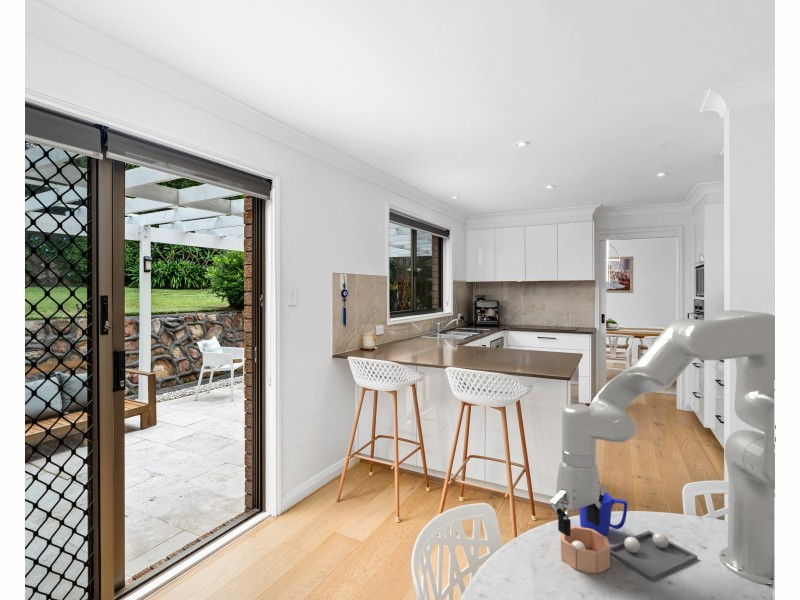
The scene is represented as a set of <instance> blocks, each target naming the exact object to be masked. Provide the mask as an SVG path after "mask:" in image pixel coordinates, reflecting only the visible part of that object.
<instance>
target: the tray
mask: <svg viewBox="0 0 800 600" xmlns="http://www.w3.org/2000/svg"><path fill="white" fill-rule="evenodd" d="M655 533H656V532H653V531H651V530H647V531H643V532H642V533H639V534H637V535H634V536H633V537H634V538H636V539H637V540H638V541H639V543H640V550H639V551H638V552H636V553H631V552H629V551H628V550H627V549H626V548H625V545H624V541H625V539H624V540H622V541H618V542H616V543H614V544H612V545H609V546H610V557H611V558H613V559H615V560H617V561H618V562H620V563H621V564H623V565H625V567H627V568H628V569H631V570H632V571H634V572H635V573H638V574H639V575H640V576H642V577H643V578H645V579H647V580H649V581H650V582H654V581H656V580H658V579H660V578H662V577H664V576H666V575H669V574H671V573H673V572H674V571H677V570H678V569H680V568H683V567H685V566H687V565H689V564H691V563H693V562H695V561H697V560H698V555H697V554H695V553H693V552H691V551H689V550H687V549H685V548H683V547H682V546H680V545H678V544H676V543H674V542H672V541H670V540H669V544H668V546H667V547H666V548H659V547H657V546H656V545H655V544H654V542H653V539H652V538H653V535H654V534H655Z"/></svg>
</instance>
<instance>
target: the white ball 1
mask: <svg viewBox="0 0 800 600" xmlns="http://www.w3.org/2000/svg"><path fill="white" fill-rule="evenodd" d="M571 545H573V546H575V547H576V548H578V549H584V550H586V548H585V545H584V544H583V543H582V542H580V541H573V542H572V543H571Z"/></svg>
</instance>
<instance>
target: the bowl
mask: <svg viewBox="0 0 800 600" xmlns="http://www.w3.org/2000/svg"><path fill="white" fill-rule="evenodd" d="M573 541H580V542H582V543H583V544H584V545H585V548H586V550H584V549H578V548H576V547H575V546H573V545H571V543H572V542H573ZM610 546H611V545H610V542H609V539H608V537H607V536H603V535H602V534H600V533H598V532H597V531H595V530H593V529H590V528H583V527H581V526H576V525H572V526H571V535H570V536H569V537H568V536H566V535H565V534H563V533H561V532H560V558H561V559H562V561H564V563H565V564H566V565H568V566H569V567H571V568H573V569H575V570H578V571H579V572H583V573H589V574H599V573H603V572H606V570H607V569H609V568H610V567H611V556H610Z"/></svg>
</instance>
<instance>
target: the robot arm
mask: <svg viewBox="0 0 800 600" xmlns="http://www.w3.org/2000/svg"><path fill="white" fill-rule="evenodd" d="M775 316H776V315H774V314H770V313H767V312H759V311H748V310H747V311H746V310H737V309H736V310H734V309H728V310H722V311H719V312H717V313H716V314H714V315H713V316H712V318H711V319H710V320H702V319H696V318H695V319H694V318H689V317H688V318H687V317H686V318H682V317H681V318H677V319H675V320H672V321H671V322H670V323H669V324H668V325H667V326H666V327H665V328H664V329H663V330H662V331H661V333H660V334H659V335H658V336H657V338H655V340H654V341H653V342H652V343H651V345H650V346H649V347H648V349H646V350H645V352H644V353H643V354H642V355H641V356H640V357H639V358H638V360H637V361H636V362H635V363H634V364H633V365H631V366H629V367H628V368H626V369H624V370H623V371H621V372H620V373H619V374H618V375H616V376H615V377H613V378H612V379H610V380H609V381H608V382H607V383H606V384H605V385H604V386H603V387H602V388H601V389H600V390H599V392H598V393H597V394H596V395H595V396H594V398H593V399H592V400H591V402H590V404H589V406H588V405H585V404H577V403H575V404H573V403H572V404H567V405H565V406H564V407H563V409H562V410H561V437H562V438H561V456H562V457H561V460H562V461H561V462H560V463H559V467H558V471H557V479H556V492H555V494H556V495H555V496H554V497H553V498H552V499H551V500H550V505H551V507H552V511H553V512H554V513H555V515H556V516H557V519H558V520H557V525H558V526H557V529H558V531H559V532H560V534H561V533H563V534H565V535H566V536H568V537H569V536H570V535H571V527H572V526H571V524H572V522H571V518H570V516H571V514H572V513H573V511H576V510H579V508H582V507H585V506H587V520H588V521H590V522H591V523H593V524H595V525H597V526H598V525H599V509H600V508H601V502H602V500H603V498H604V496H603V495H604V493H605V492H606V490H607V487H606V486H604V485H603V484H600V477H599V476H600V475H599V469H598V468H599V467H598V463H597V440H601V441H605V442H606V441H607V442H612V443H624V442H629V440H631V439H633V437H634V436H635V435H636V432H637V424H636V421H635V420H634V419H633V417H632V416H631V415H630V414H629V413H627V411H625V410H626V408H627V407H628V406H629V405H630V404H631V403H632V402H634V401H635V400H636V399H638V398H639V397H641V396H643V395H646V394H650V393H655V392H660V391H663V390H667V389H669V388H670V387H671V386H672V385H673V384H674V383H675V382H676V381H677V379H678V378H679V377H680V376H681V374H682V373H683V372H684V371H685V370H686V369H687V367H688V366H689V365H690V364H691V363H692V362H693V361H694V360H695V359H698V360H701V361H722V360H723V361H724V360H732V359H734V360H735V365H736V368H735V369H736V376H735V377H736V378H735V379H736V380H735V393H734V394H735V395H734V411H735V414H736V417H737V418H738V419H739V420H740V421H741V422H743V423H745V424H747V426H751V427H752V428H754V429H756V430H759V431H761V432H763V433H764V434H763V433H761V432H759V431H755V430H751V429H742V430H741V429H740V430H736V431H734V432H733V433H731V434H730V435H729V436H728V437H727V439H726V441H725V444H724V458H725V463H726V467H727V476H728V497H727V498H728V499H727V500H728V503H727V504H728V507H727V508H728V509H727V510H728V511H727V512H728V513H727V514H728V515H727V547H725V548H722V549H721V550H720V551H719V561H720V562H721V564H722V565H723V566H724V567H725V568H727V570H728V571H730V572H732V573H733V574H735V575H737V576H739V577H740V578H743V579H746V580H748V581H750V582H754V583H756V584H757V583H758V584H760V585H765V586H767V585H766V584H768V583H771V585H770V586H771V587H772V586H773V587H775V586H774V497H775V493H774V489H775V453H774V449H775V444H774V391H775V389H774V380H775ZM775 429H776V425H775ZM775 442H776V437H775ZM565 508H566V510H565V512H564V509H565Z"/></svg>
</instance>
